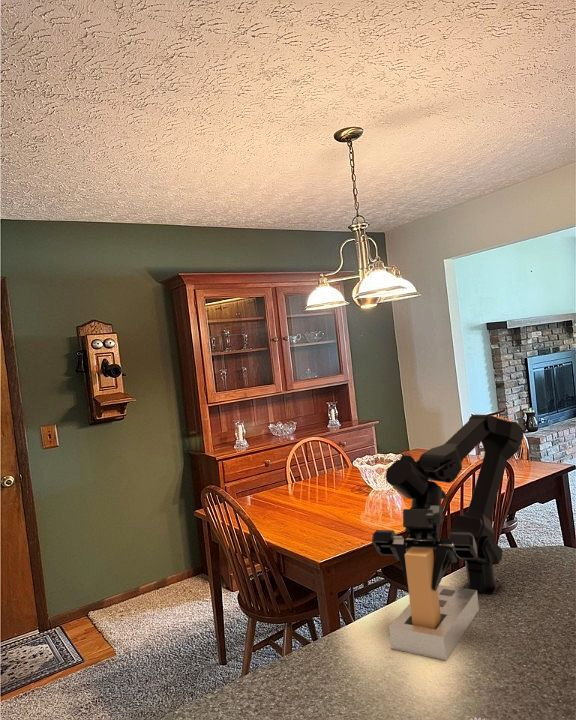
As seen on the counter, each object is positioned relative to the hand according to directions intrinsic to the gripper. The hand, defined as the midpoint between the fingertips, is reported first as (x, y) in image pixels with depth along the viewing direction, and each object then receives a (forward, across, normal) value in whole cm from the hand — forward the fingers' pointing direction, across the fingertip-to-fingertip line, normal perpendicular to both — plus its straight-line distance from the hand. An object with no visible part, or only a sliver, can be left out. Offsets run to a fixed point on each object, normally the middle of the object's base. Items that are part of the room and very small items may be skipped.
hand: (421, 589), depth 102 cm
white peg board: (+3, +1, +12) cm, 12 cm away
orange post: (+4, 0, +6) cm, 7 cm away
